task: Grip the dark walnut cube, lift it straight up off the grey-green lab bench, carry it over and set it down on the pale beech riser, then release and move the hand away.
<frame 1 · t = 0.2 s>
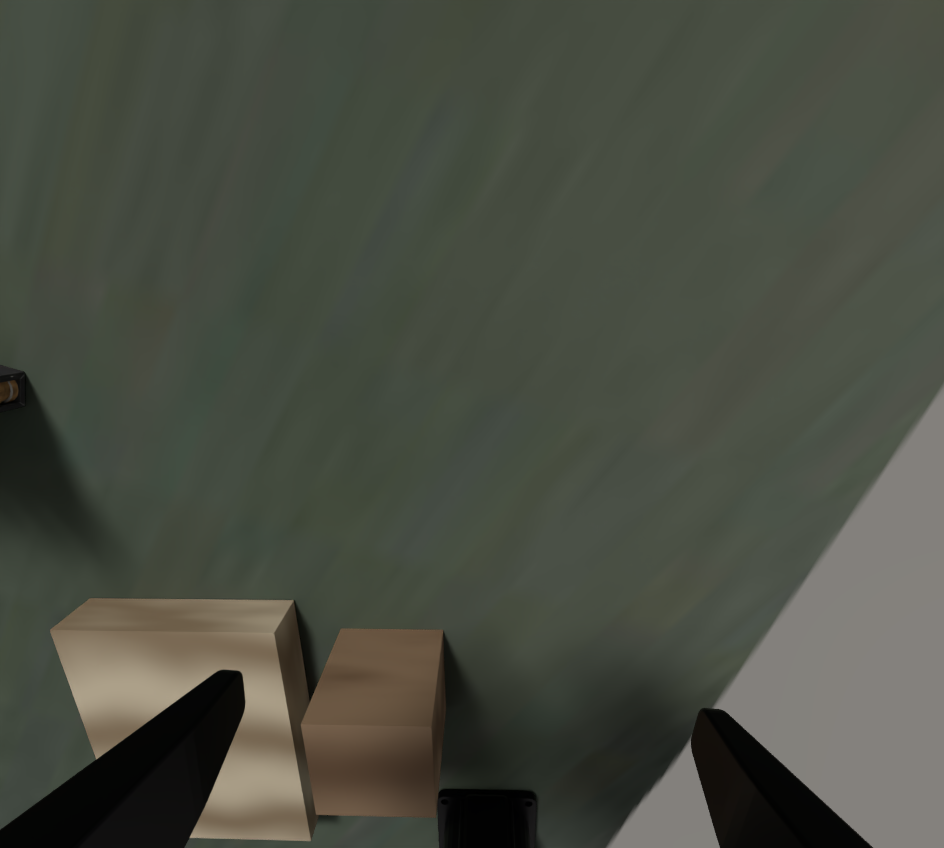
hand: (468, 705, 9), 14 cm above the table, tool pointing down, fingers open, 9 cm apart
beech riser: (216, 705, 28), on the table
walnut cube: (395, 668, 27), on the table
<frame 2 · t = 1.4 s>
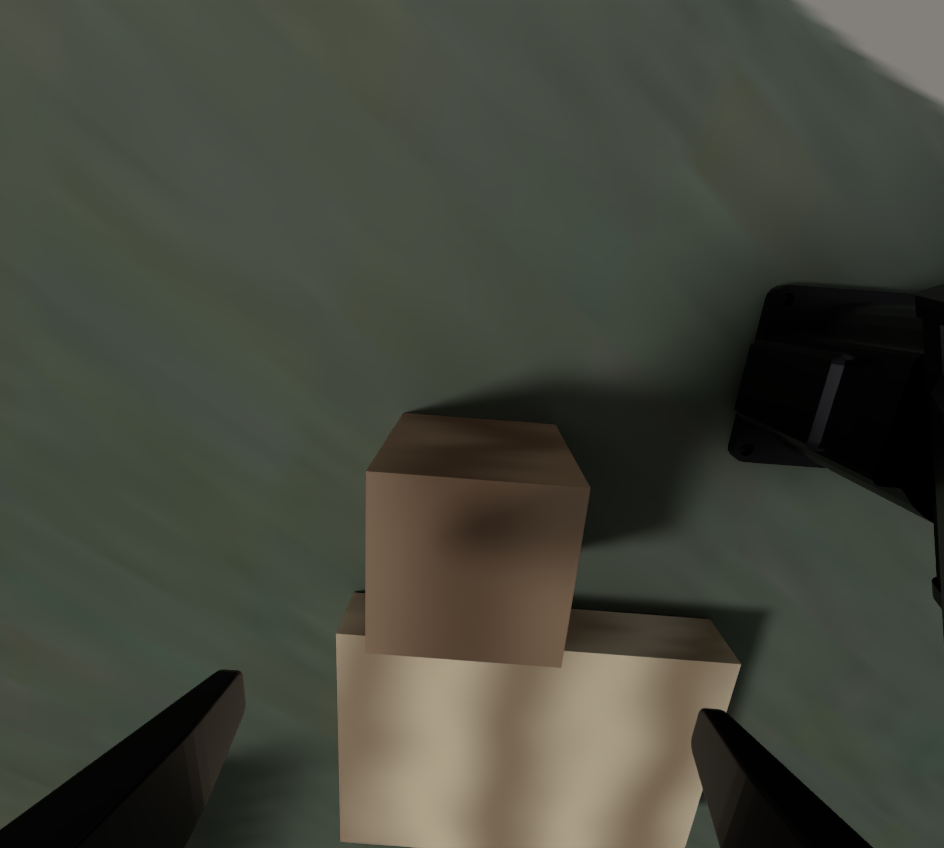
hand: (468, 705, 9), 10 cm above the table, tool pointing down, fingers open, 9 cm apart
beech riser: (518, 709, 22), on the table
walnut cube: (473, 487, 18), on the table
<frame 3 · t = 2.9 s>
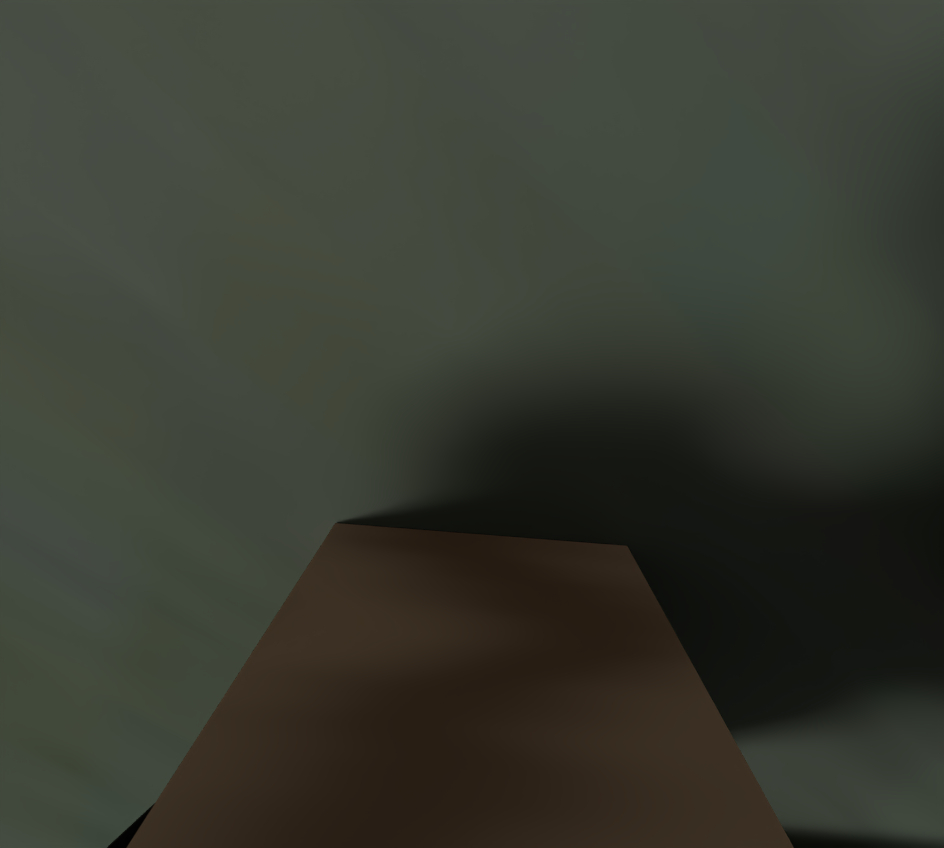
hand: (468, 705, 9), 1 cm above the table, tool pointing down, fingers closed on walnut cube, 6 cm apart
walnut cube: (470, 652, 10), on the table, touching gripper
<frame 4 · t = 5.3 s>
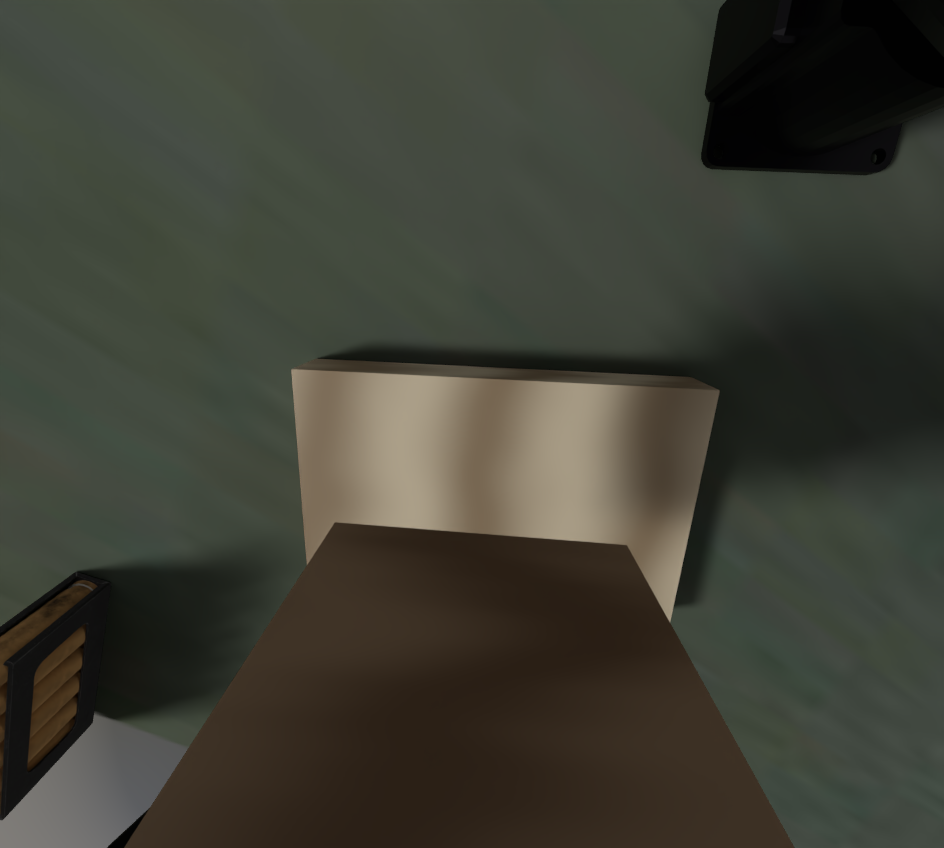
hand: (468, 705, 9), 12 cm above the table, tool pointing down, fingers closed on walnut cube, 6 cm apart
beech riser: (493, 494, 21), on the table
ammunition clip: (87, 649, 25), on the table
walnut cube: (470, 651, 10), point 11 cm above the table, touching gripper
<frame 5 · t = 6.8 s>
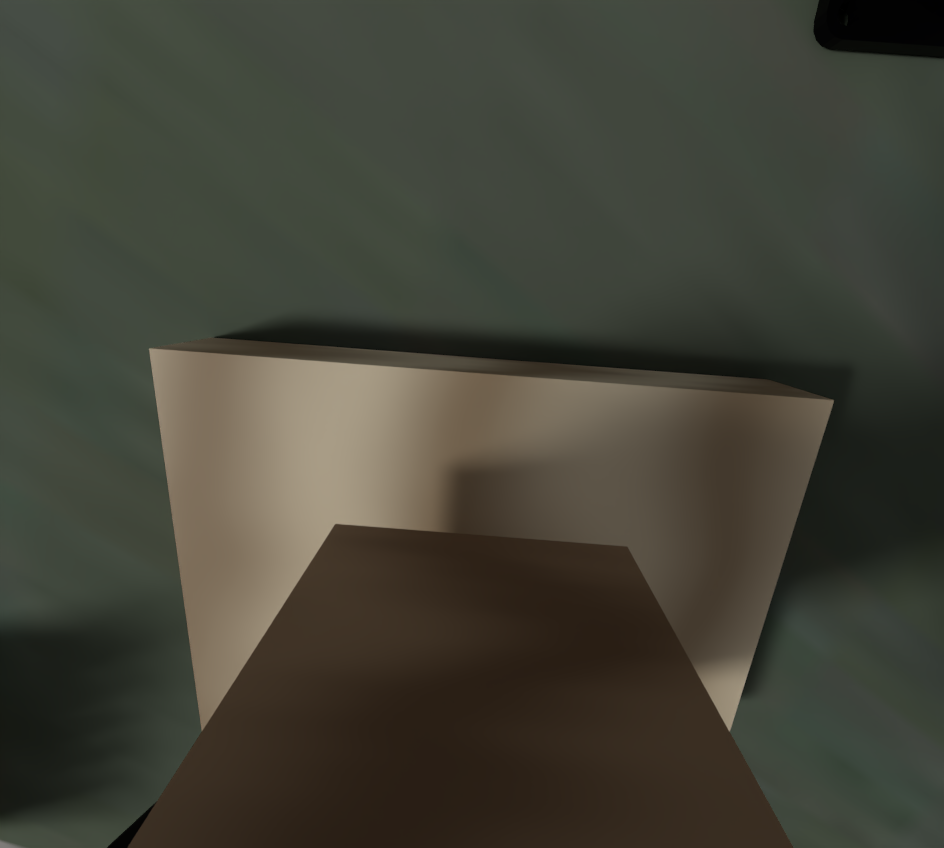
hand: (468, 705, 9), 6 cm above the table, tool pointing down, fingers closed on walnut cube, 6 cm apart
beech riser: (473, 542, 14), on the table
walnut cube: (470, 652, 10), point 5 cm above the table, touching gripper
when the fingers open (5 cm above the table, at t = 7.9 s): walnut cube drops 1 cm, resting on beech riser.
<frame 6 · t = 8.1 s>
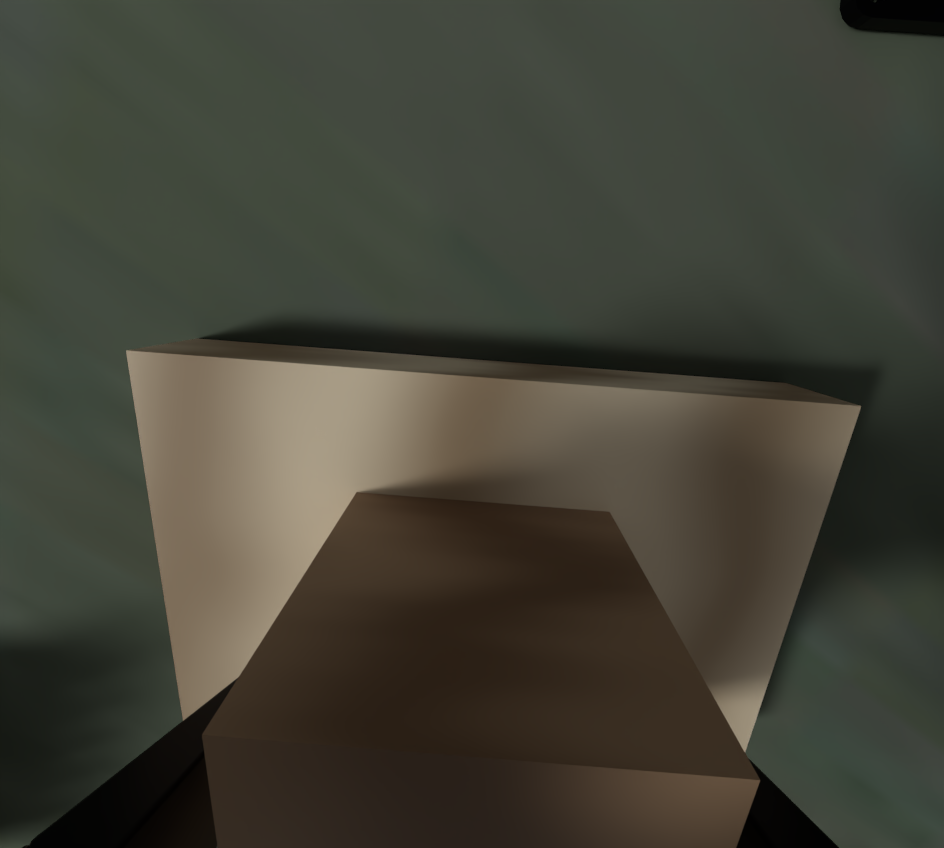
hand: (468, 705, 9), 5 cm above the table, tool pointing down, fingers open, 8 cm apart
beech riser: (474, 553, 14), on the table
walnut cube: (473, 607, 11), point 2 cm above the table, touching beech riser
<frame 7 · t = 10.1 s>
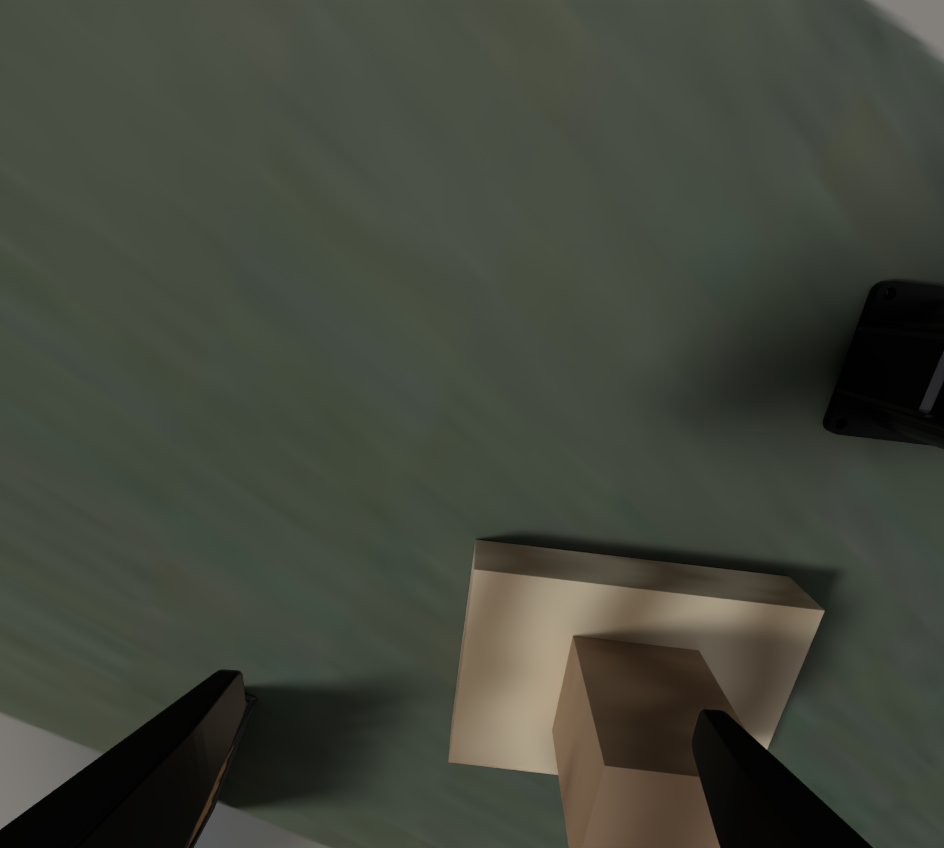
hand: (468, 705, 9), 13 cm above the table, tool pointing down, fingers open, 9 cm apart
beech riser: (608, 652, 24), on the table
ammunition clip: (221, 748, 28), on the table
walnut cube: (622, 692, 22), point 2 cm above the table, touching beech riser
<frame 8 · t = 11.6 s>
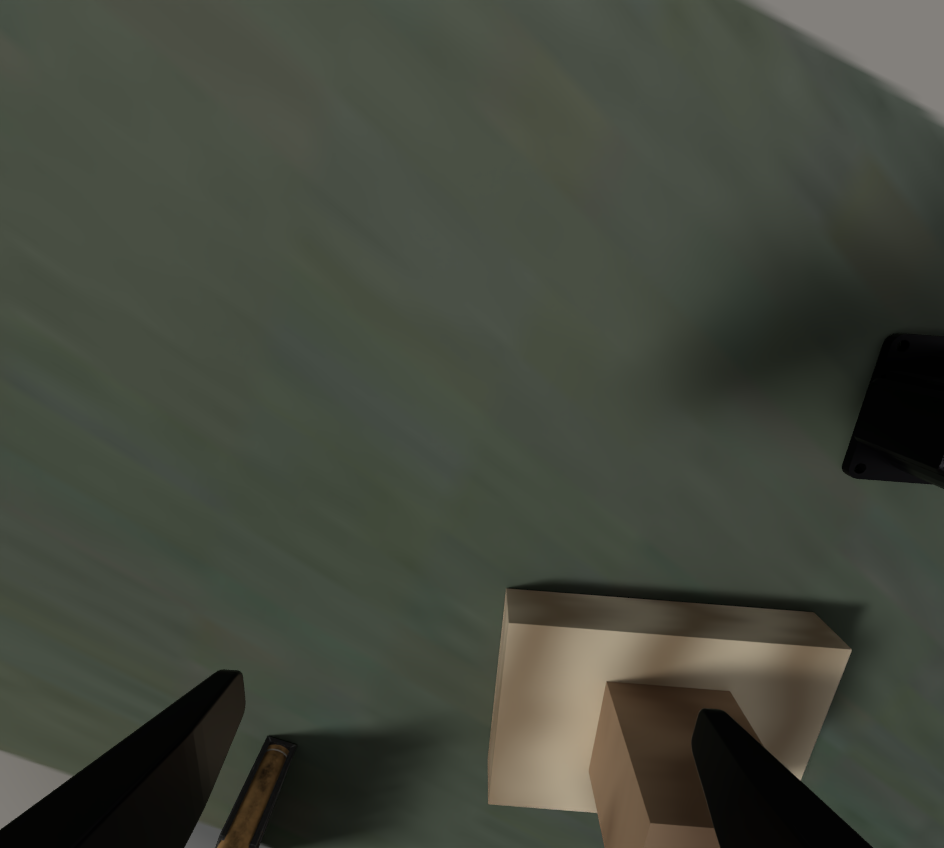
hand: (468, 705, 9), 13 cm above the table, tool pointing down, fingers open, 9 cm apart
beech riser: (639, 690, 25), on the table
ammunition clip: (263, 793, 28), on the table
walnut cube: (656, 732, 22), point 2 cm above the table, touching beech riser
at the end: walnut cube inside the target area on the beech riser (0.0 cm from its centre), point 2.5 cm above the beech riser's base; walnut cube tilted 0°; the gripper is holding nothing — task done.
